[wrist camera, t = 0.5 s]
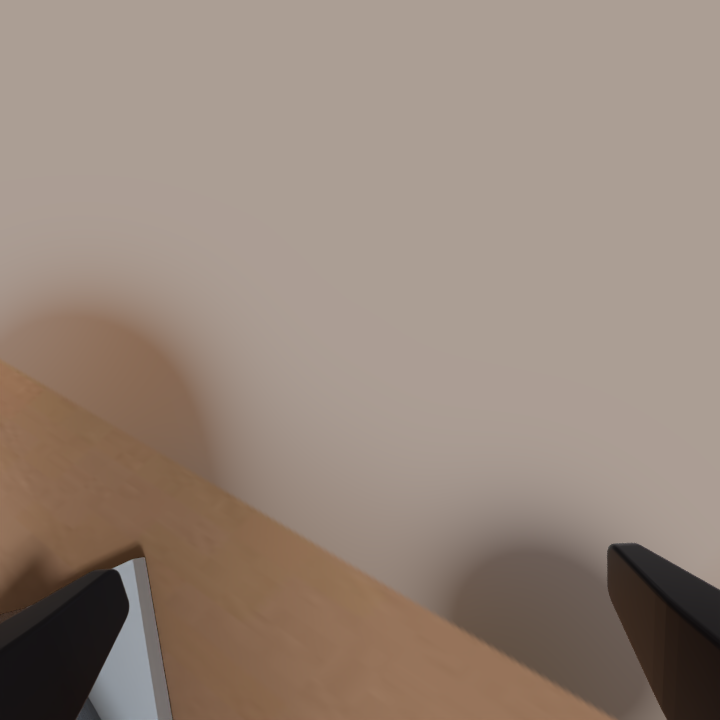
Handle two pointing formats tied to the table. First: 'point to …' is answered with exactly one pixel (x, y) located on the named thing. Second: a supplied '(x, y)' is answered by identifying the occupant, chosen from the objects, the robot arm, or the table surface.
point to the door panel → (134, 658)
